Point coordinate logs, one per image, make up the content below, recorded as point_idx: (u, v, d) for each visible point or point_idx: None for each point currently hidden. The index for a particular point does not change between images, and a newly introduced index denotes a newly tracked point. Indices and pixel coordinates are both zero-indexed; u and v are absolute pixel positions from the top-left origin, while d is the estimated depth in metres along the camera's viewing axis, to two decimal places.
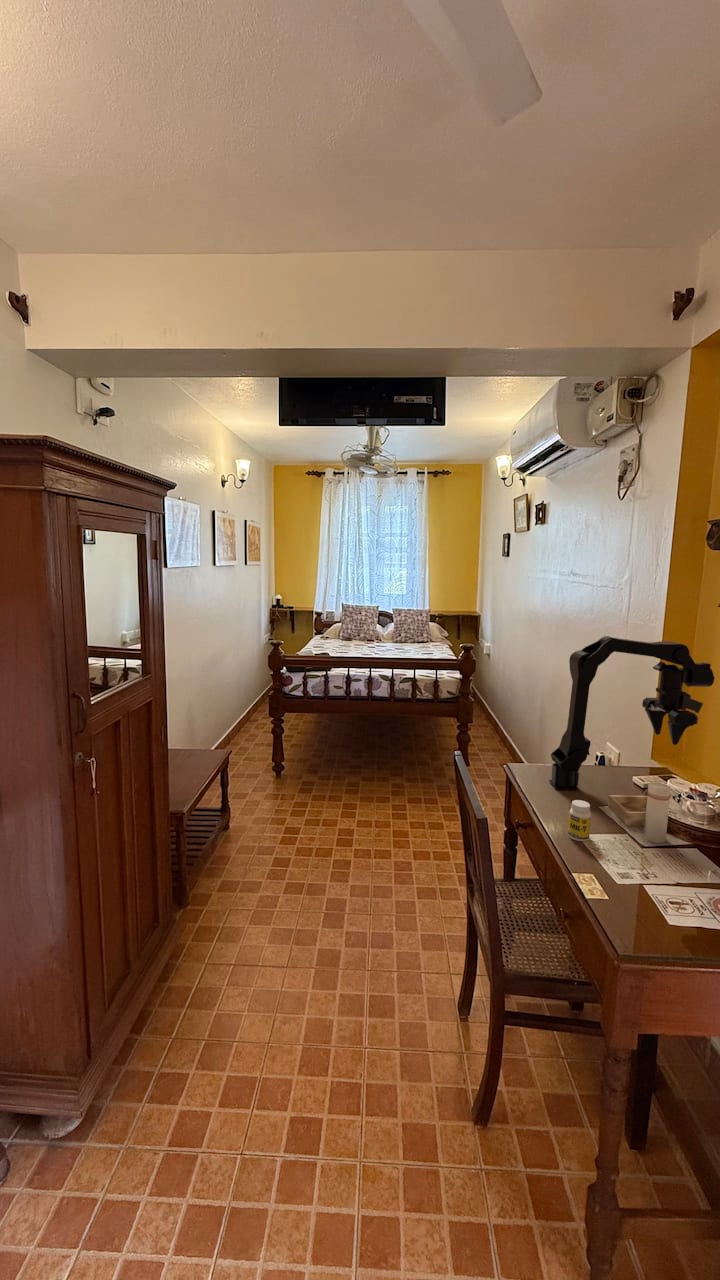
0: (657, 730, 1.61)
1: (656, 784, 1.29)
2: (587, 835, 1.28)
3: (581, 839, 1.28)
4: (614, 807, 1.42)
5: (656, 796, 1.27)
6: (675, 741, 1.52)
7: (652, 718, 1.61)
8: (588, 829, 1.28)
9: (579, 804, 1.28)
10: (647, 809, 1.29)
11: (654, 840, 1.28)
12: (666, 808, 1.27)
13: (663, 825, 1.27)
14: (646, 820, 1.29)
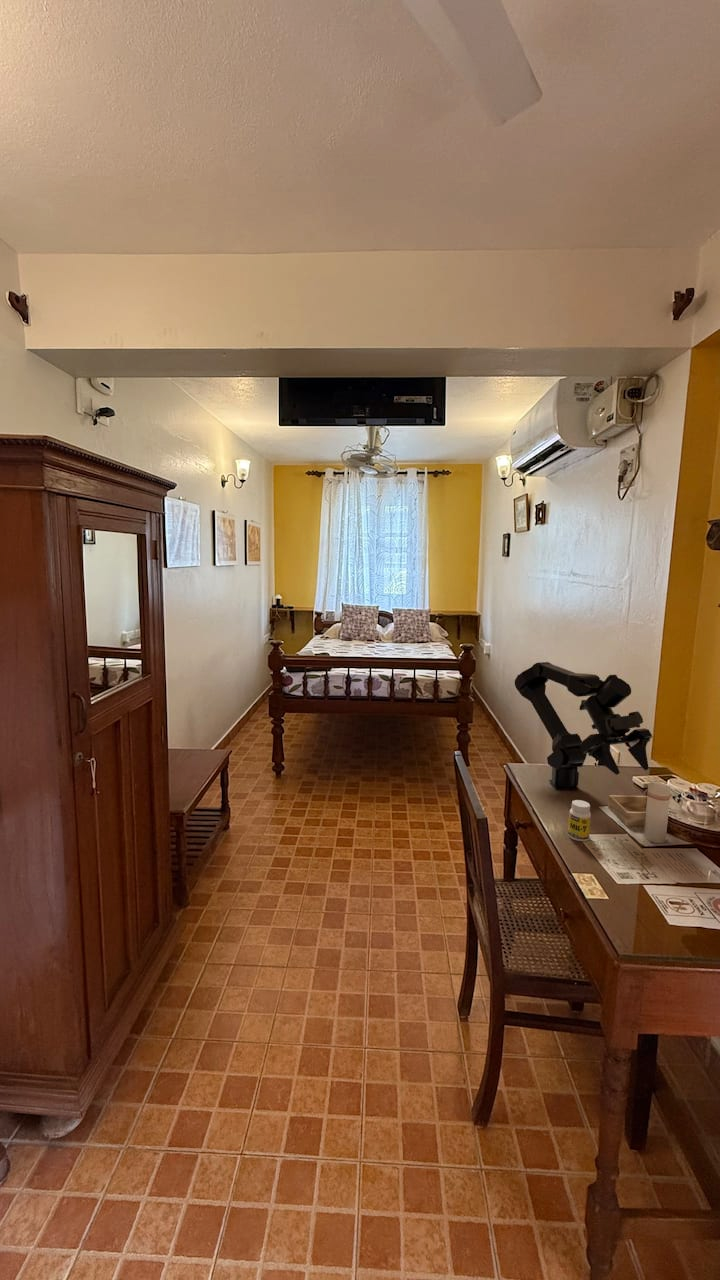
0: (643, 765, 1.38)
1: (656, 784, 1.29)
2: (587, 835, 1.28)
3: (581, 839, 1.28)
4: (614, 807, 1.42)
5: (656, 796, 1.27)
6: (614, 769, 1.34)
7: (633, 755, 1.41)
8: (588, 829, 1.28)
9: (579, 804, 1.28)
10: (647, 809, 1.29)
11: (654, 840, 1.28)
12: (666, 808, 1.27)
13: (663, 825, 1.27)
14: (646, 820, 1.29)
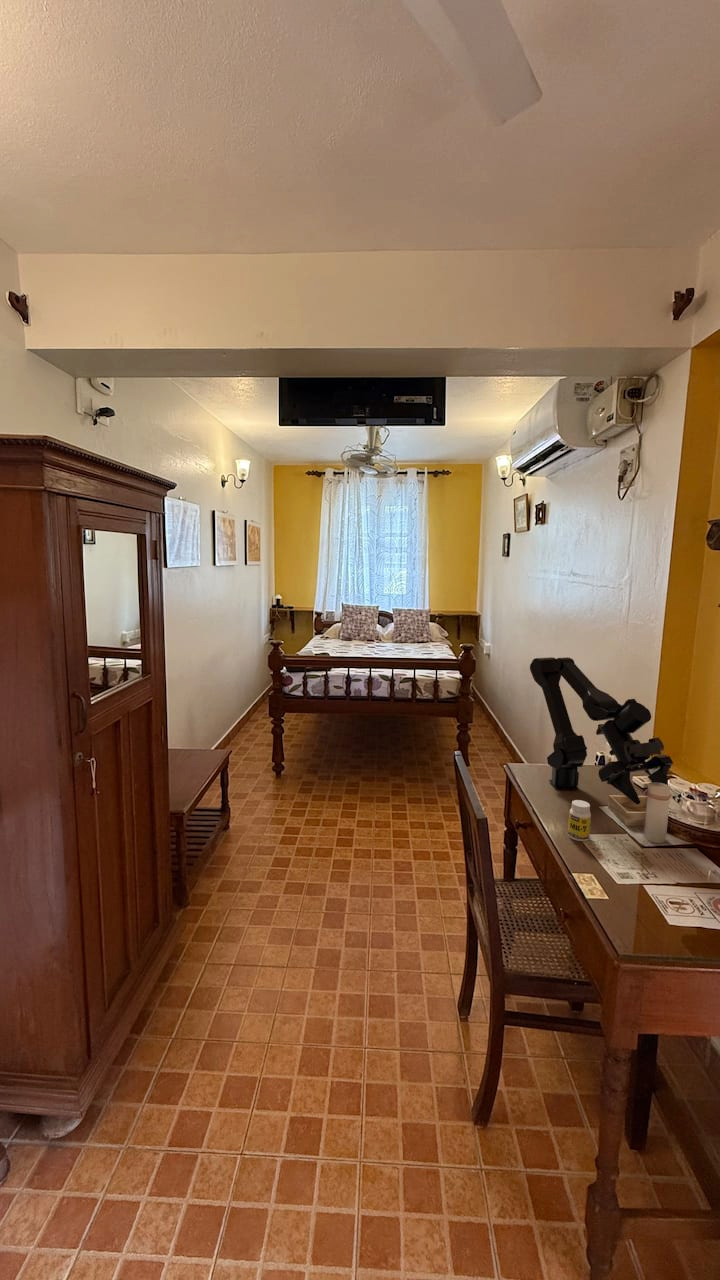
0: None
1: (656, 784, 1.29)
2: (587, 835, 1.28)
3: (581, 839, 1.28)
4: (614, 807, 1.42)
5: (656, 796, 1.27)
6: (635, 799, 1.29)
7: None
8: (588, 829, 1.28)
9: (579, 804, 1.28)
10: (647, 809, 1.29)
11: (654, 840, 1.28)
12: (666, 808, 1.27)
13: (663, 825, 1.27)
14: (646, 820, 1.29)
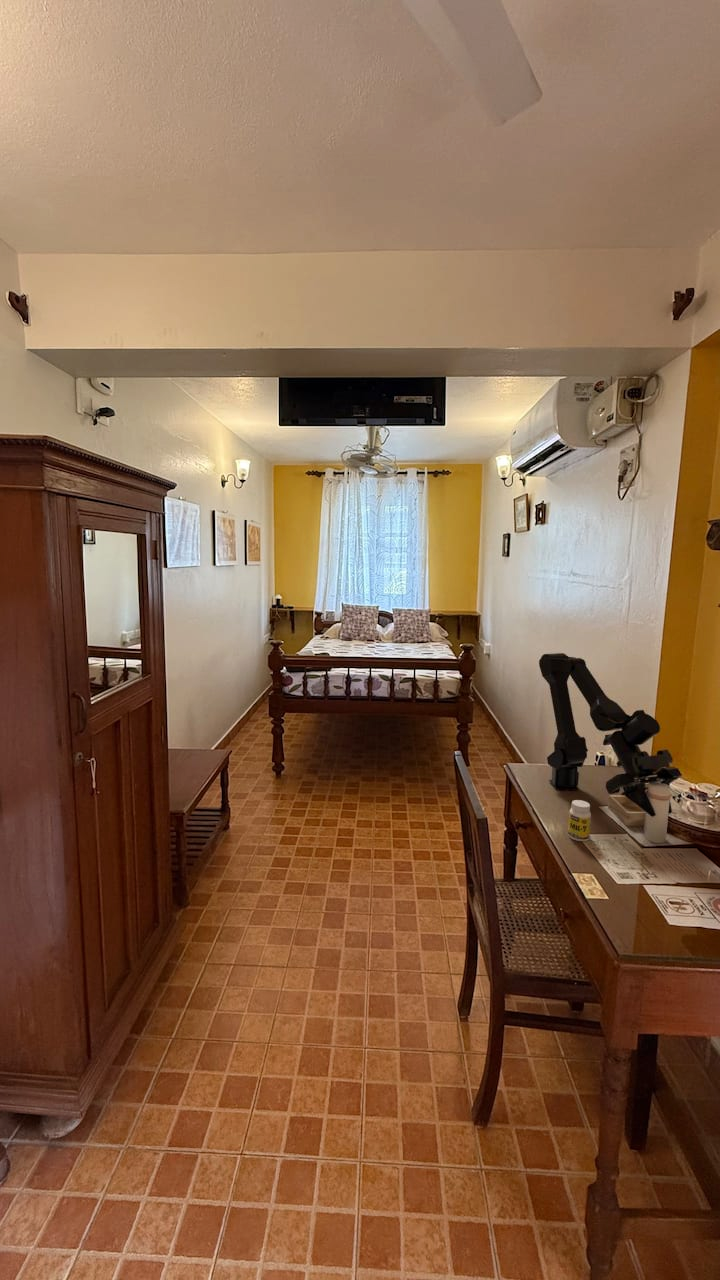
0: None
1: (656, 784, 1.29)
2: (587, 835, 1.28)
3: (581, 839, 1.28)
4: (614, 807, 1.42)
5: (656, 796, 1.27)
6: (650, 811, 1.27)
7: None
8: (588, 829, 1.28)
9: (578, 804, 1.29)
10: None
11: (654, 840, 1.28)
12: (666, 808, 1.27)
13: (663, 825, 1.27)
14: (646, 820, 1.29)
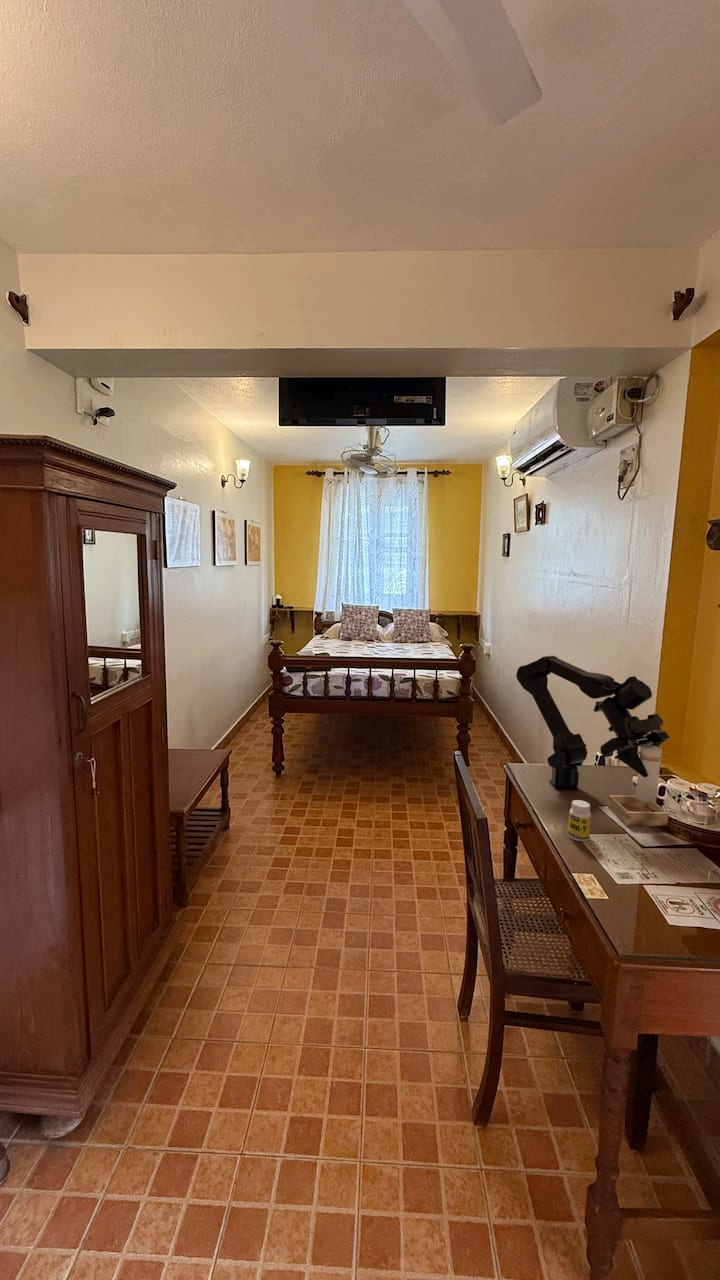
0: None
1: (648, 746, 1.35)
2: (587, 835, 1.28)
3: (581, 839, 1.28)
4: (614, 807, 1.42)
5: (649, 758, 1.32)
6: (642, 772, 1.33)
7: None
8: (588, 829, 1.28)
9: (578, 804, 1.29)
10: None
11: (646, 800, 1.34)
12: (658, 769, 1.33)
13: (655, 785, 1.33)
14: (638, 781, 1.35)
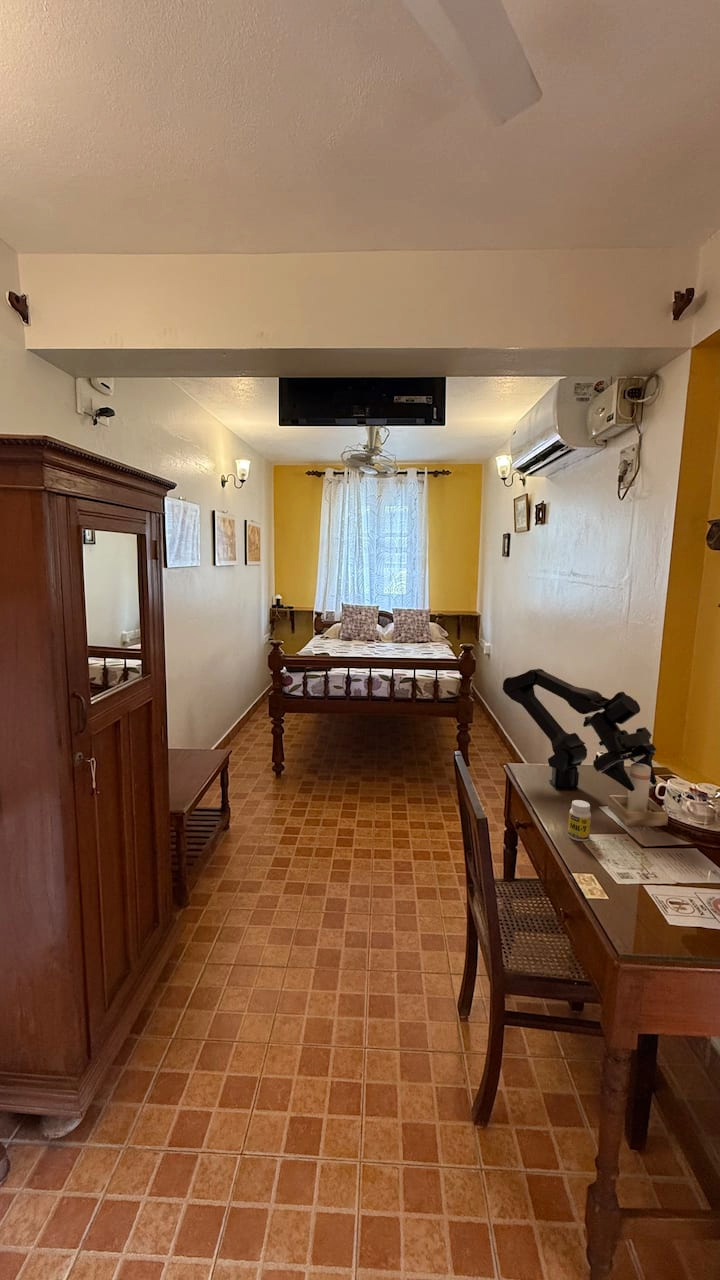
0: (651, 780, 1.41)
1: (637, 765, 1.40)
2: (587, 835, 1.28)
3: (581, 839, 1.28)
4: (614, 807, 1.42)
5: (639, 776, 1.37)
6: (629, 786, 1.37)
7: None
8: (588, 829, 1.28)
9: (579, 804, 1.29)
10: None
11: None
12: (647, 786, 1.38)
13: (645, 802, 1.38)
14: (629, 799, 1.40)
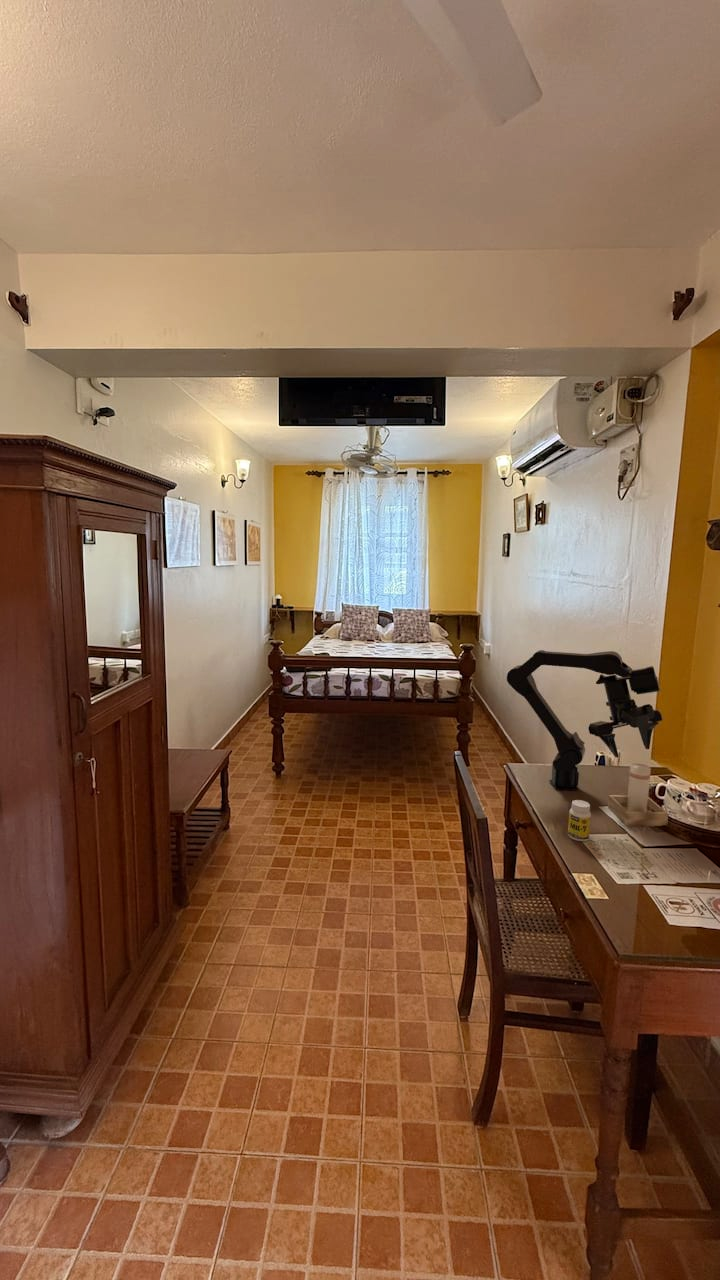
0: (645, 744, 1.50)
1: (637, 765, 1.40)
2: (587, 835, 1.28)
3: (581, 839, 1.28)
4: (614, 807, 1.42)
5: (639, 776, 1.37)
6: (614, 753, 1.49)
7: (640, 731, 1.52)
8: (588, 829, 1.28)
9: (578, 804, 1.29)
10: (630, 788, 1.39)
11: None
12: (647, 786, 1.38)
13: (645, 802, 1.38)
14: (629, 799, 1.40)
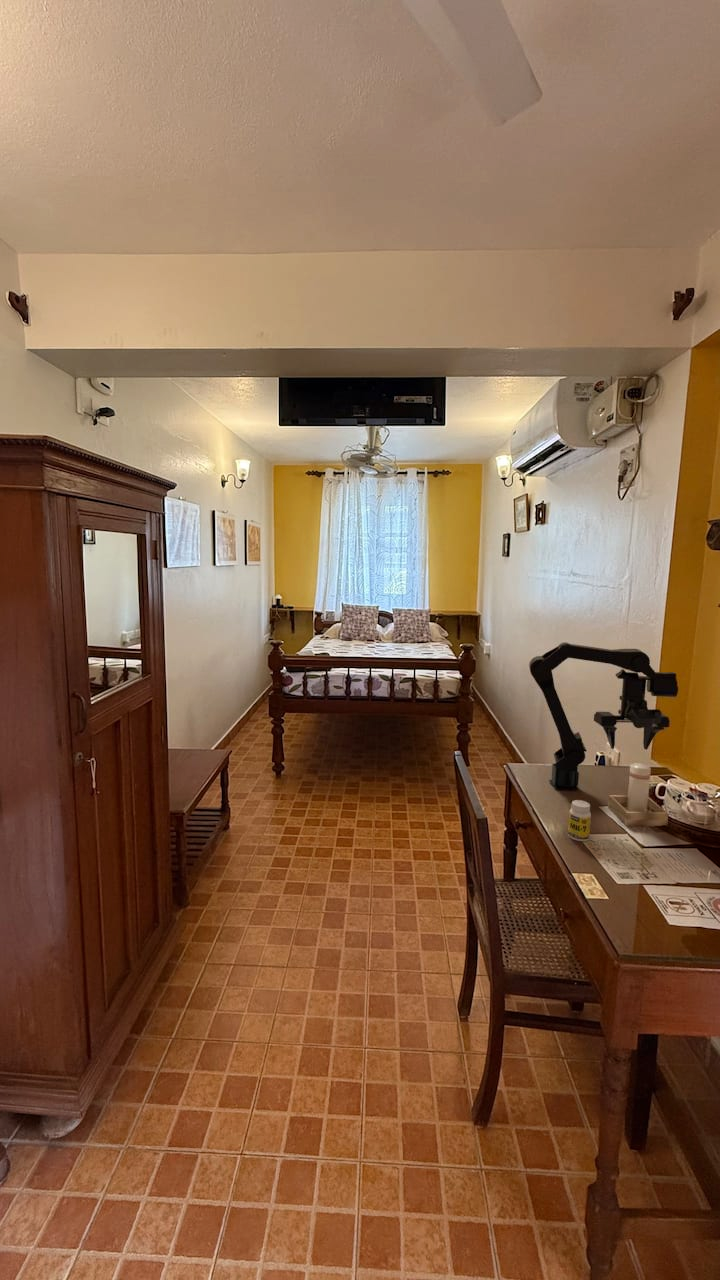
0: (644, 744, 1.54)
1: (637, 765, 1.40)
2: (587, 835, 1.28)
3: (581, 839, 1.28)
4: (614, 807, 1.42)
5: (639, 776, 1.37)
6: (611, 744, 1.54)
7: (644, 730, 1.55)
8: (588, 829, 1.28)
9: (579, 804, 1.28)
10: (630, 788, 1.39)
11: None
12: (647, 786, 1.38)
13: (645, 802, 1.38)
14: (629, 799, 1.40)
